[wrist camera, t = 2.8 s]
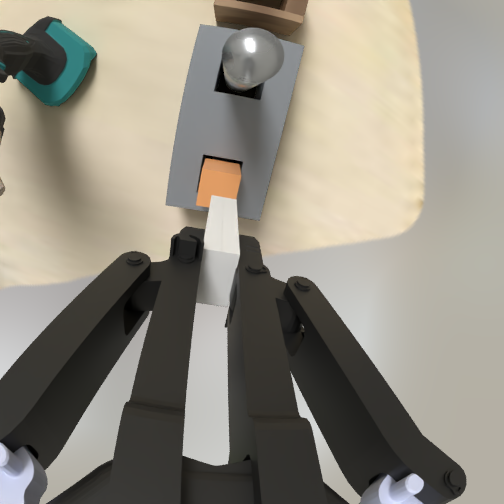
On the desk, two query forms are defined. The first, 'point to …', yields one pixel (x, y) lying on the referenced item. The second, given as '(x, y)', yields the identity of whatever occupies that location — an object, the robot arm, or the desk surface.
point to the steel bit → (251, 58)
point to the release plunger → (218, 180)
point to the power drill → (44, 62)
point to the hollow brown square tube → (262, 15)
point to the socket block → (229, 125)
